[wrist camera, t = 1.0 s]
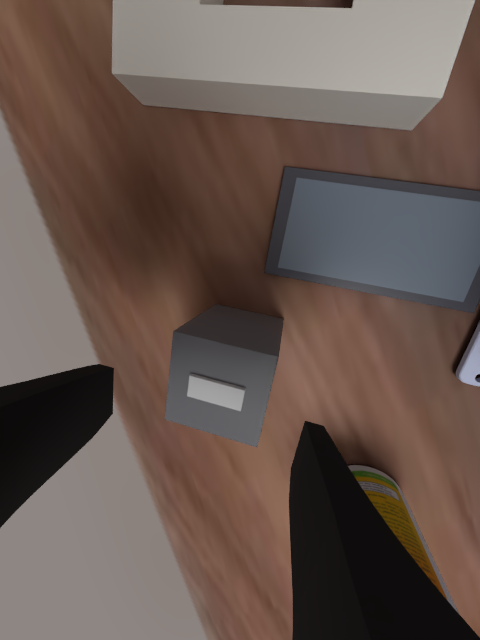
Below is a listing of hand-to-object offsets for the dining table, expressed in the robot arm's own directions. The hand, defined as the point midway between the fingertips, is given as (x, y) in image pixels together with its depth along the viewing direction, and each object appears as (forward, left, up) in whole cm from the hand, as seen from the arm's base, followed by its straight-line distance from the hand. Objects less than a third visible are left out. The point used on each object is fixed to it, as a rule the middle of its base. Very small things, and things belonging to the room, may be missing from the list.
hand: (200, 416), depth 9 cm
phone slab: (-6, -8, -8) cm, 13 cm away
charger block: (0, 0, -8) cm, 8 cm away
